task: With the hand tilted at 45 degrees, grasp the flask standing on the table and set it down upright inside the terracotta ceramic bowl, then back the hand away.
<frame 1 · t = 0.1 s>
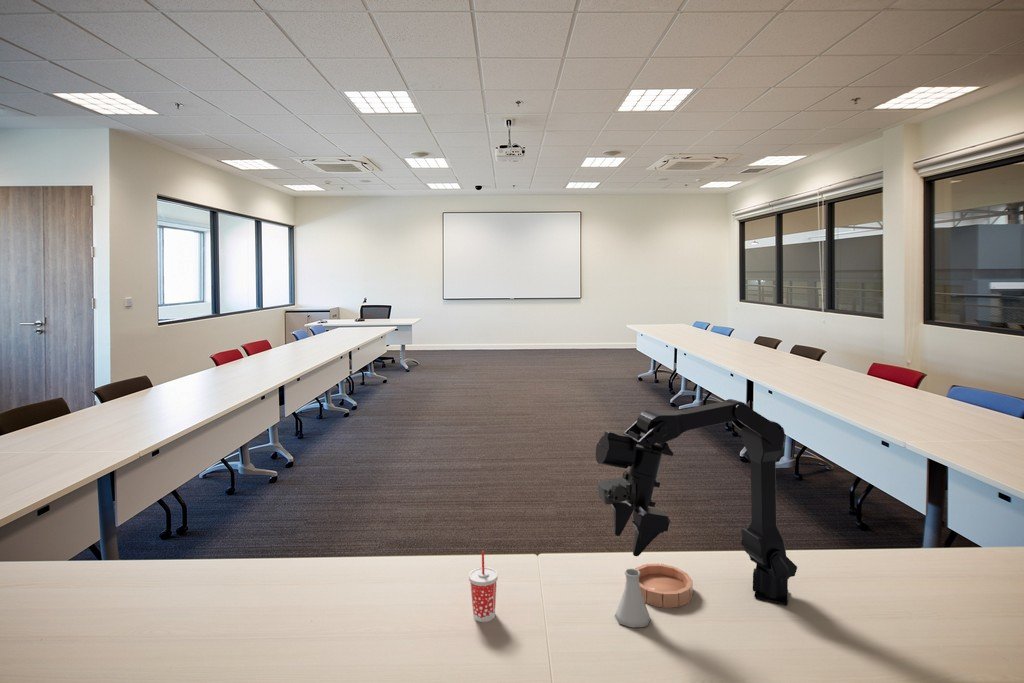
hand: (625, 545, 109), 15 cm above the table, tool pointing down, fingers open, 9 cm apart
flask: (632, 619, 110), on the table
bowl: (661, 590, 120), on the table
beverage cup: (484, 616, 112), on the table
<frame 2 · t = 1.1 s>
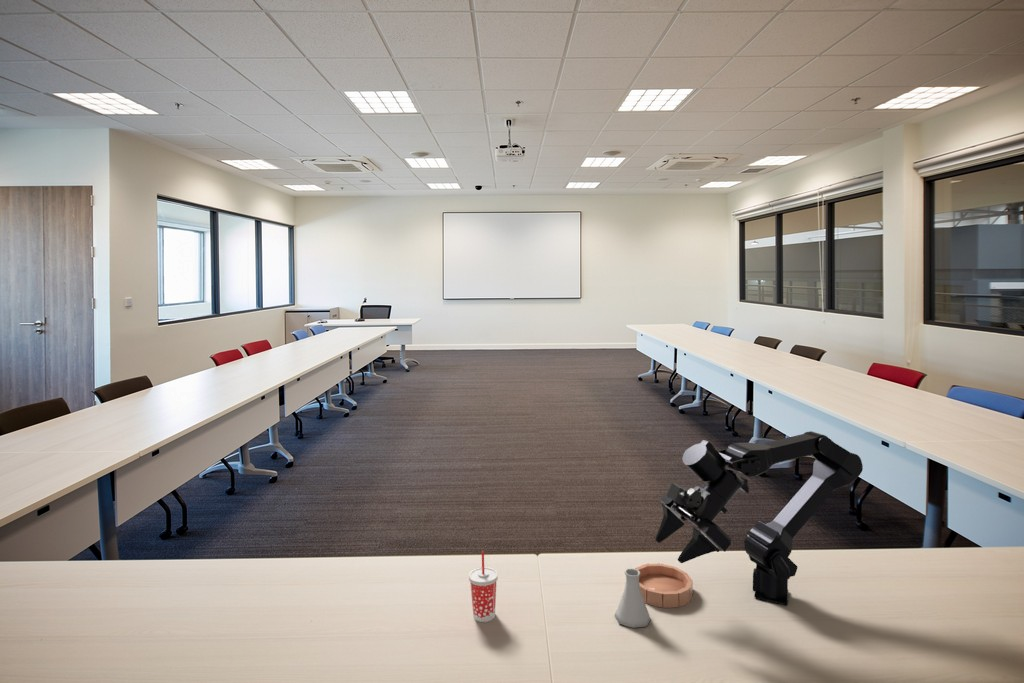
hand: (667, 551, 110), 13 cm above the table, tool tilted 45°, fingers open, 9 cm apart
nothing on the table moved.
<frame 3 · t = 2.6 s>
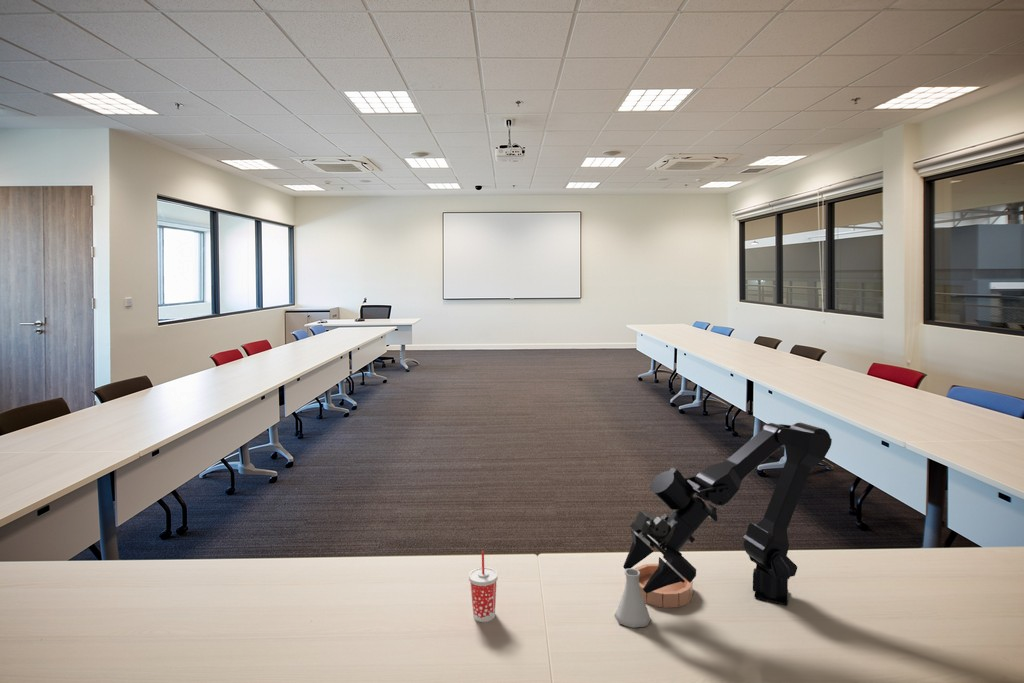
hand: (634, 579, 109), 8 cm above the table, tool tilted 45°, fingers open, 9 cm apart
nothing on the table moved.
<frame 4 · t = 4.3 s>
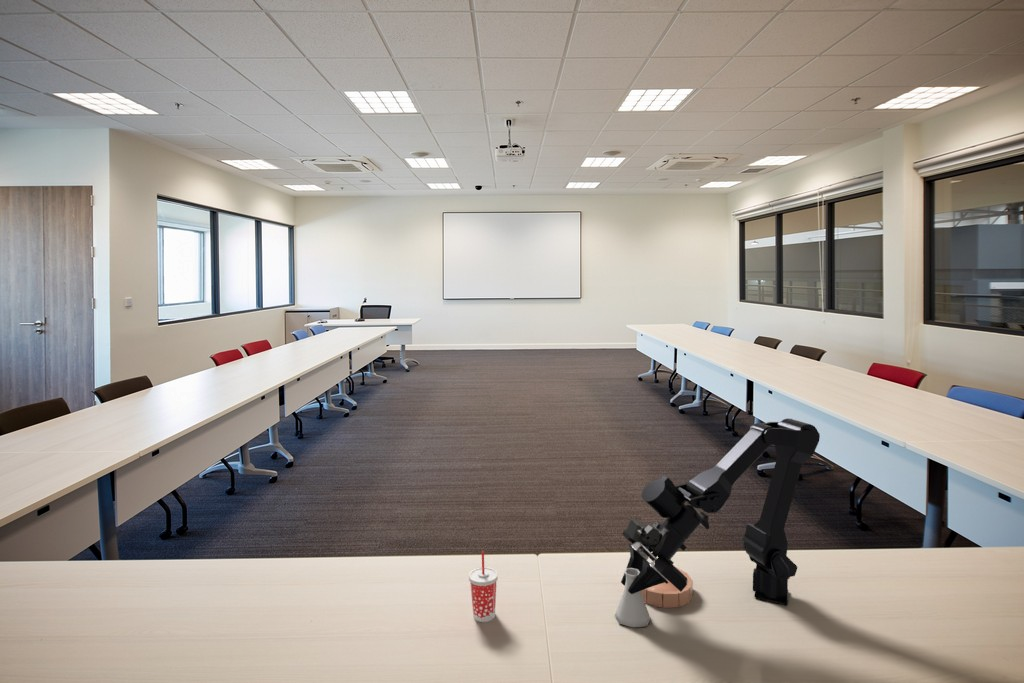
hand: (626, 588, 109), 7 cm above the table, tool tilted 45°, fingers closed on flask, 3 cm apart
flask: (632, 619, 110), on the table, touching gripper
everything else where it was.
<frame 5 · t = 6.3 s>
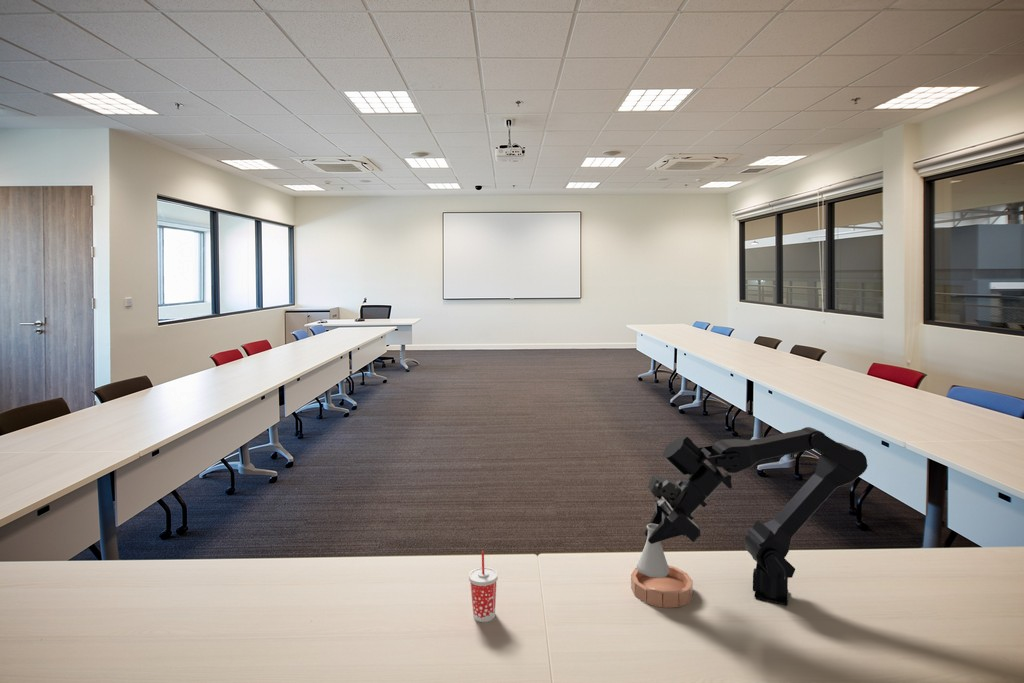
hand: (647, 538, 116), 13 cm above the table, tool tilted 45°, fingers closed on flask, 3 cm apart
flask: (653, 571, 117), point 6 cm above the table, touching gripper
everything else where it was.
when the fingers open (9 cm above the table, at t = 8.3 s): flask stays where it is, resting on bowl.
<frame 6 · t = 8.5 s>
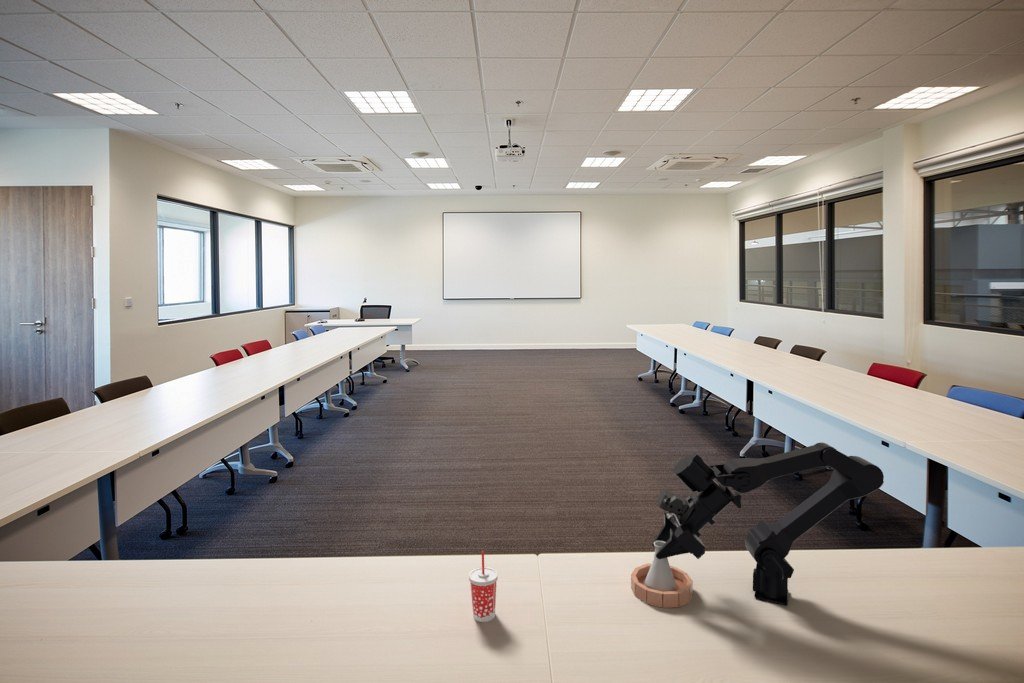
hand: (655, 551, 119), 9 cm above the table, tool tilted 45°, fingers open, 5 cm apart
flask: (660, 587, 120), point 1 cm above the table, touching bowl
everything else where it was.
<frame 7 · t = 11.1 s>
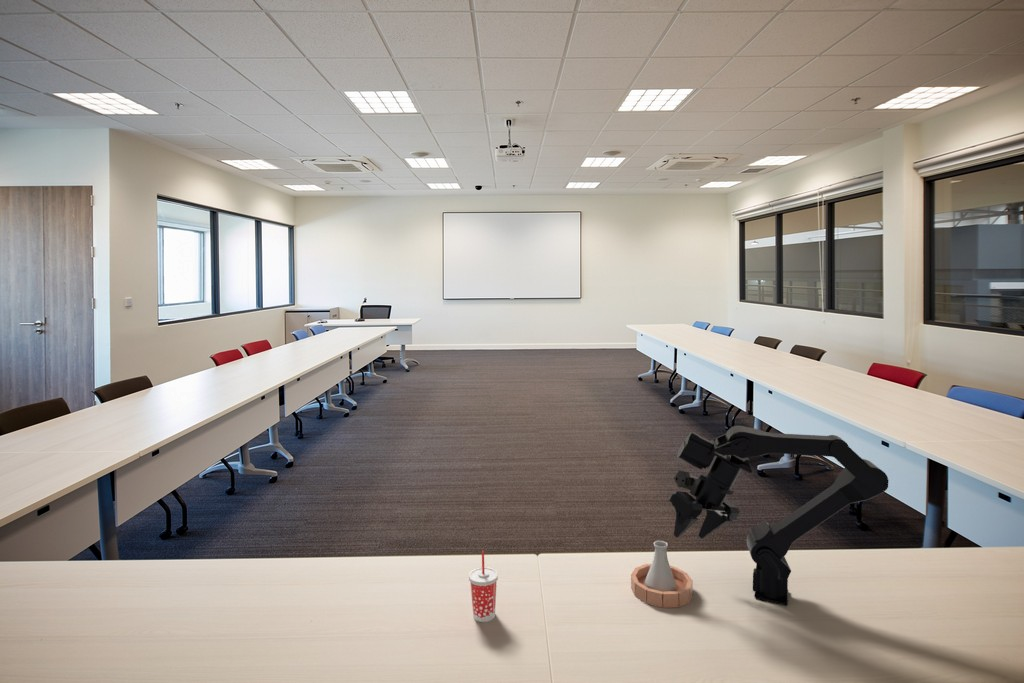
hand: (688, 536, 121), 11 cm above the table, tool tilted 25°, fingers open, 9 cm apart
nothing on the table moved.
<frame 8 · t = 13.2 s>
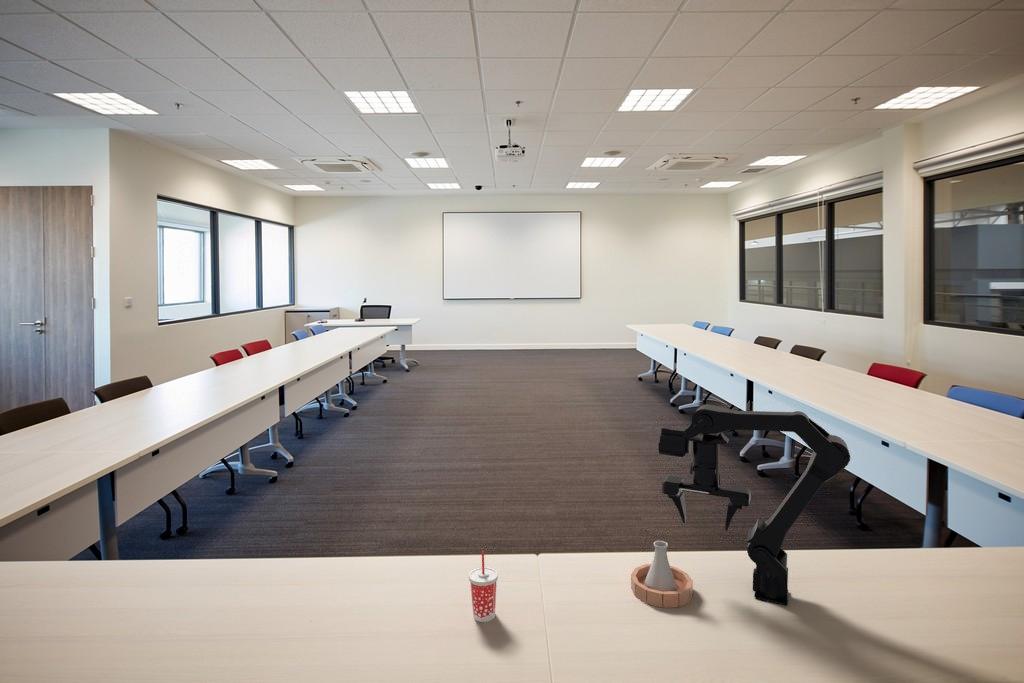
hand: (705, 526, 123), 13 cm above the table, tool pointing down, fingers open, 9 cm apart
nothing on the table moved.
at the end: flask 0.2 cm off-centre on the bowl, point 0.8 cm above the bowl's base; flask tilted 0°; the gripper is holding nothing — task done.
